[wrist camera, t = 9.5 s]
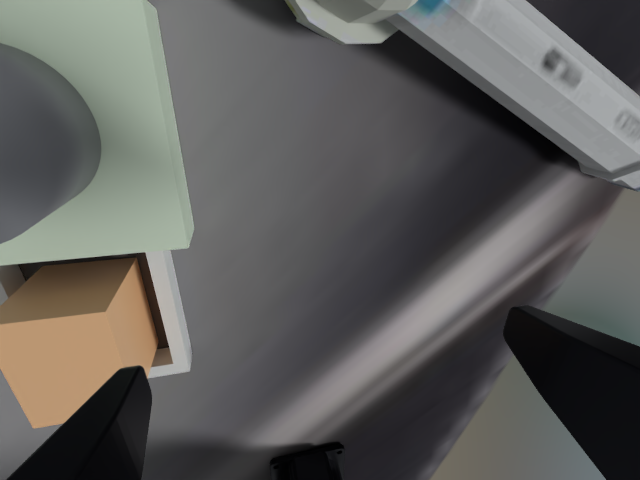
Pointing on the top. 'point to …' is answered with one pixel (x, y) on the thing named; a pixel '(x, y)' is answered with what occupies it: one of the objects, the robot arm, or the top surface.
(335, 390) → the top surface
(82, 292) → the tan parcel box
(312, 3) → the flat bar with knob
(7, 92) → the pale green framed piece
